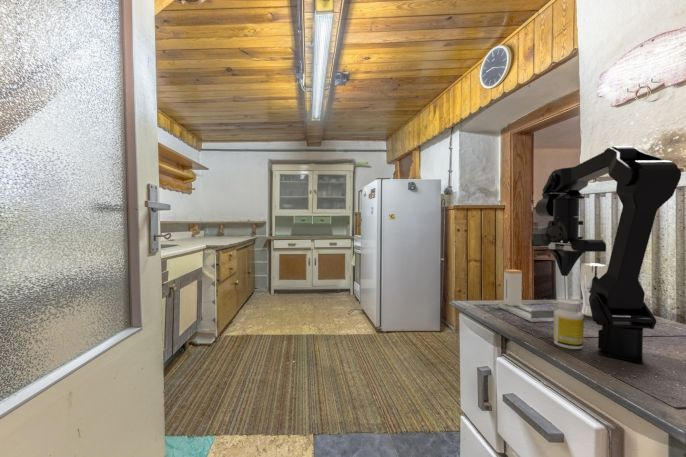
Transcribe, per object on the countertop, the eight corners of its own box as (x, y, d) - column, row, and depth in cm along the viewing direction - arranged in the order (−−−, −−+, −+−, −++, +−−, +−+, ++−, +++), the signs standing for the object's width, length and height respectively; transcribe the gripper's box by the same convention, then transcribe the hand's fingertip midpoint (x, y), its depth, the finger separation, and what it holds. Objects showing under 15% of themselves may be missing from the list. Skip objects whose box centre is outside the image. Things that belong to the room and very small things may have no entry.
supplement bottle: (589, 350, 69) (590, 304, 69) (563, 349, 69) (564, 304, 69) (571, 340, 75) (572, 298, 74) (548, 340, 75) (548, 298, 74)
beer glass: (585, 317, 93) (586, 265, 93) (575, 311, 100) (576, 262, 100) (614, 319, 91) (615, 266, 91) (602, 312, 98) (603, 263, 98)
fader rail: (555, 321, 89) (555, 310, 89) (531, 321, 89) (531, 311, 88) (519, 306, 105) (519, 297, 105) (498, 307, 104) (498, 297, 104)
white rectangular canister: (521, 305, 101) (522, 270, 101) (509, 305, 101) (509, 271, 101) (515, 303, 104) (516, 269, 104) (503, 303, 104) (504, 269, 104)
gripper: (514, 217, 94) (513, 270, 95) (565, 216, 76) (564, 282, 76) (550, 217, 95) (549, 270, 96) (608, 216, 77) (607, 282, 77)
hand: (564, 275), depth 86 cm, fingers closed
